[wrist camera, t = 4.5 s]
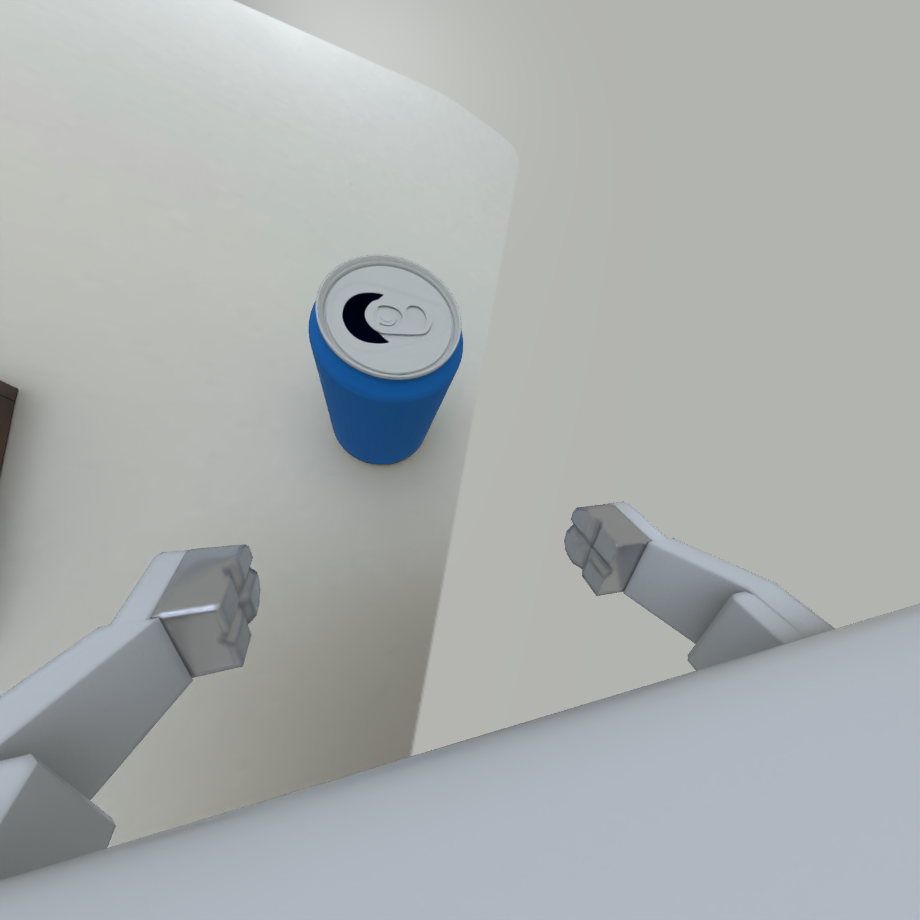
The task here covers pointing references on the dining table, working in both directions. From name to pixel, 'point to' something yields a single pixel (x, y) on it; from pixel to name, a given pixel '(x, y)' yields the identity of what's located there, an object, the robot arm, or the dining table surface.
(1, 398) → the tray
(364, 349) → the beverage can
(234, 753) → the dining table surface
